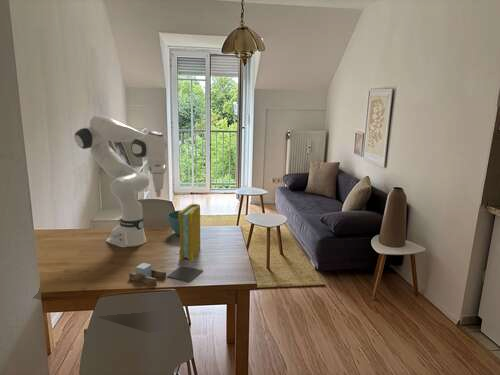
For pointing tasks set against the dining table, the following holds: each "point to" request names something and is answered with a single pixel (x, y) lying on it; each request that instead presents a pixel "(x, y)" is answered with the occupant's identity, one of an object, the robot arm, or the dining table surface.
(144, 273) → the blank
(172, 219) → the plant pot
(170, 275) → the mat
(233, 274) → the dining table surface
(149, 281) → the shelf slot
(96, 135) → the robot arm
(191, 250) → the book
